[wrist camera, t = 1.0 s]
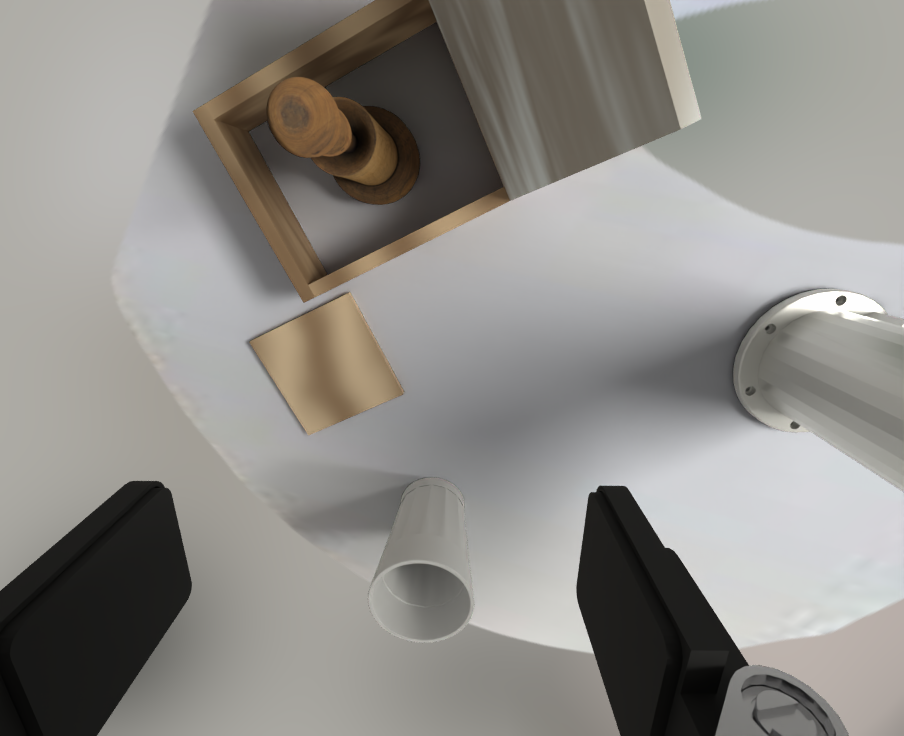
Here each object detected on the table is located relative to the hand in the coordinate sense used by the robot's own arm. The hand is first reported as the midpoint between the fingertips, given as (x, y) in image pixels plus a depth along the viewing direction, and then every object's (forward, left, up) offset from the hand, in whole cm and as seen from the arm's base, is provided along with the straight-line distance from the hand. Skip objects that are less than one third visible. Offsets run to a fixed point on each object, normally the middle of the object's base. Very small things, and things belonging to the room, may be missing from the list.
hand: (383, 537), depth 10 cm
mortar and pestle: (0, -12, -30) cm, 32 cm away
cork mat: (+12, +1, -30) cm, 32 cm away
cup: (+10, +18, -30) cm, 37 cm away
